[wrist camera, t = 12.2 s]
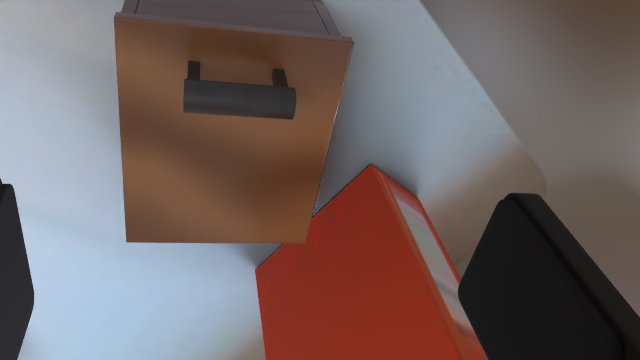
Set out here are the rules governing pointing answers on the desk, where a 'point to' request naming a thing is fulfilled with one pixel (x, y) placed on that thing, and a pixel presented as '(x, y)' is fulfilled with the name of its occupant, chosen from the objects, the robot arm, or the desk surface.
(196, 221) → the wooden box lid
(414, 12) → the desk surface
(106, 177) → the desk surface
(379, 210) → the file binder
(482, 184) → the desk surface
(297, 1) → the box
